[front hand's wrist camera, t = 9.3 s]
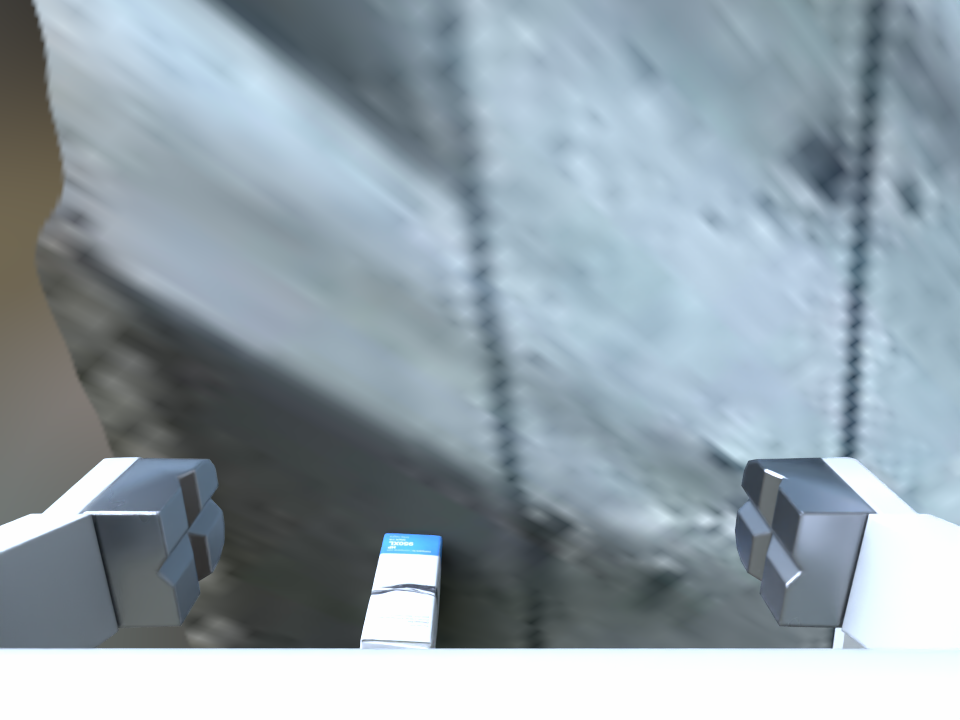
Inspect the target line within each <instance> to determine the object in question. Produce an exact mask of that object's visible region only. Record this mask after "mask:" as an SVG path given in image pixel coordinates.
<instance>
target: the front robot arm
mask: <svg viewBox="0 0 960 720" xmlns="http://www.w3.org/2000/svg"><path fill="white" fill-rule="evenodd" d="M218 486H219V485H218V480H217V475H216V470H215V466H214V465H213V464H212V462H211V461H210V460H209V459H170V458H141V457H132V458H109V459H103V460H102V461H101V462H100V463H99V464H98V465H97V466H96V467H94V468H93V469H92V470H91V471H90V472H89V473H88V474H87V475H85V476H84V477H83V478H82V479H81V480H80V481H79V482H77V483H76V484H75V485H74V486H73V487H72V488H71V489H70V490H68V491H67V492H66V493H65V494H64V495H63V496H62V497H61V498H59V499H58V500H57V501H56V502H55V503H54V504H53V505H52V506H50V507H49V508H48V509H47V510H46V511H45V512H44V513H43V514H30V515H27V516H25V517H22V518H20V519H17V520H15V521H12V522H10V523H7V524H5V525H2V526H0V720H960V526H958V525H955V524H953V523H950V522H948V521H945V520H943V519H940V518H938V517H935V516H933V515H930V514H917V513H916V512H915V511H914V510H913V509H912V508H911V507H910V506H908V505H907V504H906V503H905V502H904V501H903V500H902V499H901V498H900V497H898V496H897V495H896V494H895V493H894V492H893V491H892V490H891V489H889V488H888V487H887V486H886V485H885V484H884V483H883V482H882V481H880V480H879V479H878V478H877V477H876V476H875V475H874V474H873V473H871V472H870V471H869V470H868V469H867V468H866V467H865V466H864V465H862V464H861V463H860V462H859V461H858V460H856V459H853V458H849V457H840V458H791V459H756V460H750V461H748V463H747V465H746V467H745V470H744V474H743V479H742V485H741V486H742V487H743V489H744V490H745V492H746V493H747V495H748V497H749V499H748V501H747V502H746V503H745V504H744V505H743V506H742V507H741V508H740V509H739V510H738V511H737V519H736V527H735V534H736V544H737V550H738V553H739V556H740V559H741V562H742V564H743V565H744V567H745V569H746V571H747V573H749V574H750V575H752V576H754V577H755V578H757V579H759V580H760V581H762V583H761V589H760V595H761V596H762V598H763V600H764V601H765V603H766V605H767V606H768V608H769V610H770V611H771V613H772V615H773V616H774V618H775V620H776V621H777V623H778V625H779V626H790V627H826V628H842V629H841V631H842V632H844V633H845V634H847V635H848V636H849V637H851V638H852V639H853V640H855V641H856V642H857V643H859V644H860V645H861V646H863V647H864V648H866V649H150V648H143V649H142V648H140V649H137V648H136V649H135V648H129V649H127V648H126V649H124V648H120V649H119V648H117V649H113V648H110V649H107V648H106V649H105V648H102V649H101V648H98V649H96V647H97V646H99V645H100V644H101V643H103V642H104V641H106V640H107V639H108V638H110V637H111V636H112V635H114V634H115V633H116V632H118V628H133V627H168V626H181V625H182V623H183V621H184V620H185V618H186V616H187V615H188V613H189V611H190V610H191V608H192V606H193V605H194V603H195V601H196V600H197V598H198V596H199V595H200V589H199V583H198V581H200V580H201V579H203V578H205V577H206V576H208V575H210V574H211V573H213V571H214V569H215V567H216V565H217V564H218V562H219V560H220V557H221V552H222V548H223V544H224V530H225V525H224V518H223V511H222V510H221V509H220V508H219V507H218V506H217V505H216V504H215V503H214V502H213V501H212V499H211V497H212V495H213V493H214V492H215V490H216V489H217V487H218Z"/></svg>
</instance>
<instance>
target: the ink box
mask: <svg viewBox="0 0 960 720" xmlns="http://www.w3.org/2000/svg"><path fill="white" fill-rule="evenodd" d="M441 558H442V537H441V536H434V535H414V534H385V536H384V540H383V544H382V548H381V553H380V557H379V562H378V567H377V571H376V575H375V580H374V584H373V589H372V593H371V597H370V602H369V606H368V610H367V615H366V619H365V623H364V628H363V632H362V637H361V648H360V649H435V647H436V637H437V626H438V614H439V598H440V580H441Z"/></svg>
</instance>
